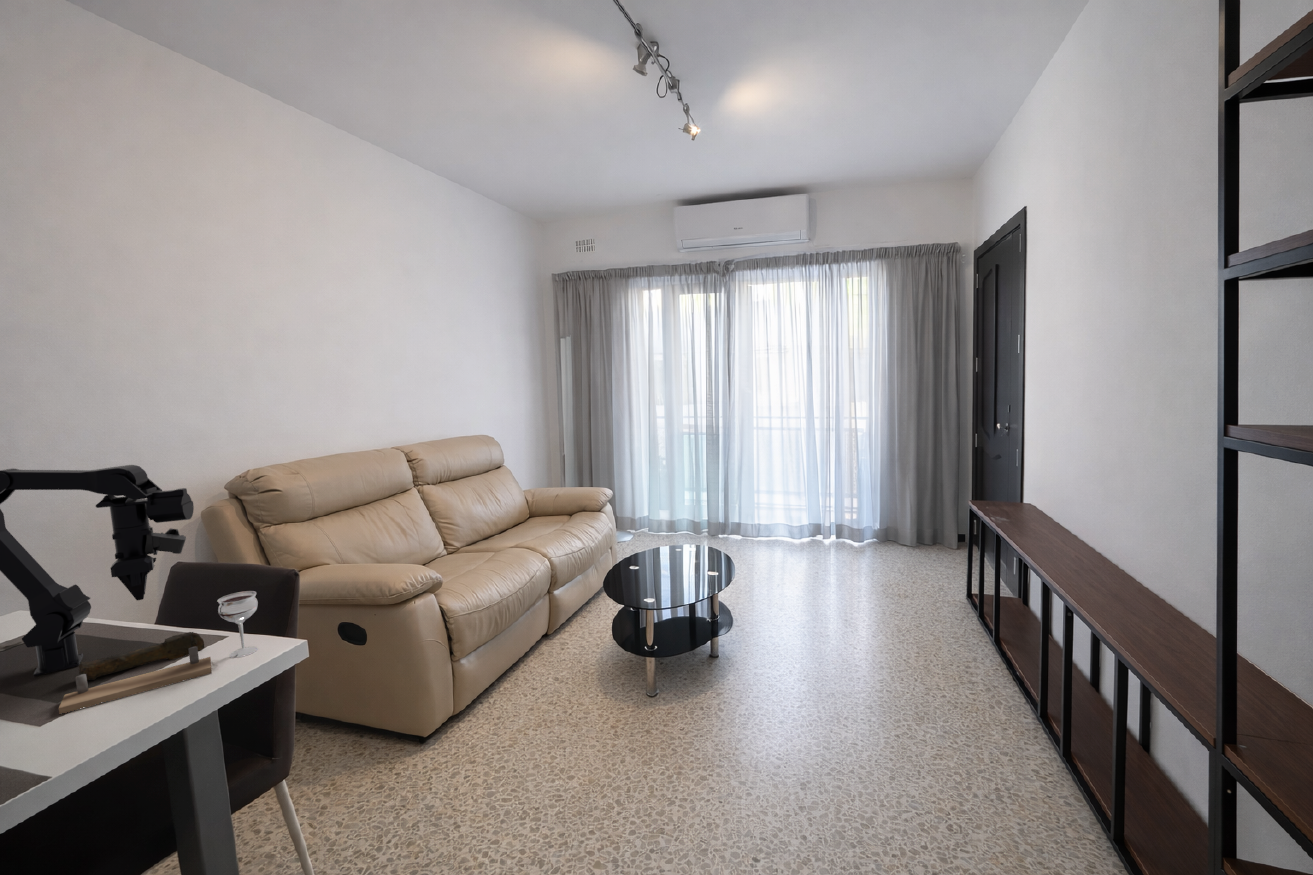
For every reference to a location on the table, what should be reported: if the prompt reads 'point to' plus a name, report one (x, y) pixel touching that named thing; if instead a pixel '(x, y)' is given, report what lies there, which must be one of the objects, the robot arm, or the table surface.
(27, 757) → the table surface
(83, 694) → the tool rack
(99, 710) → the table surface
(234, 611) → the wineglass
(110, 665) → the hand tool
